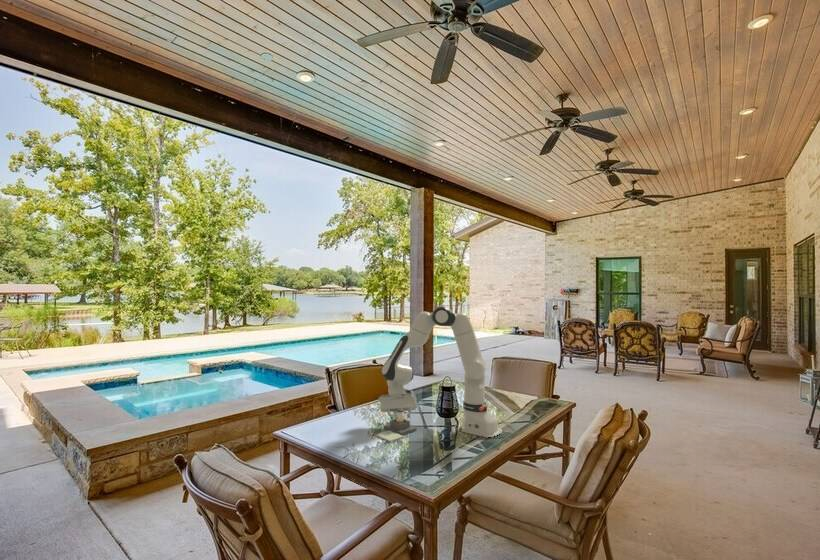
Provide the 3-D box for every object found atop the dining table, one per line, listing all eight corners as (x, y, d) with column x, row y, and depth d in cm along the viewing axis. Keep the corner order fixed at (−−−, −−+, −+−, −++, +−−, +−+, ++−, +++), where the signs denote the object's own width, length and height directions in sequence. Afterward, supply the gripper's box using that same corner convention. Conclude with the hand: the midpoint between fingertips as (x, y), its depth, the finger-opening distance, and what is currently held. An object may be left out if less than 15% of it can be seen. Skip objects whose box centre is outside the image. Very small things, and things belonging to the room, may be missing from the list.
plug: (405, 426, 214) (406, 409, 214) (399, 428, 211) (400, 411, 211) (400, 424, 217) (400, 408, 217) (394, 426, 214) (394, 409, 214)
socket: (416, 430, 213) (416, 422, 213) (401, 435, 205) (401, 426, 205) (398, 423, 223) (398, 415, 223) (383, 428, 215) (383, 420, 215)
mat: (403, 437, 202) (403, 436, 202) (390, 442, 196) (390, 440, 196) (388, 431, 210) (389, 430, 210) (375, 436, 204) (375, 434, 204)
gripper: (379, 392, 218) (381, 416, 209) (415, 390, 223) (419, 413, 214) (377, 398, 223) (380, 421, 213) (413, 396, 228) (417, 419, 218)
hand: (400, 417), depth 213 cm, fingers open, 8 cm apart
